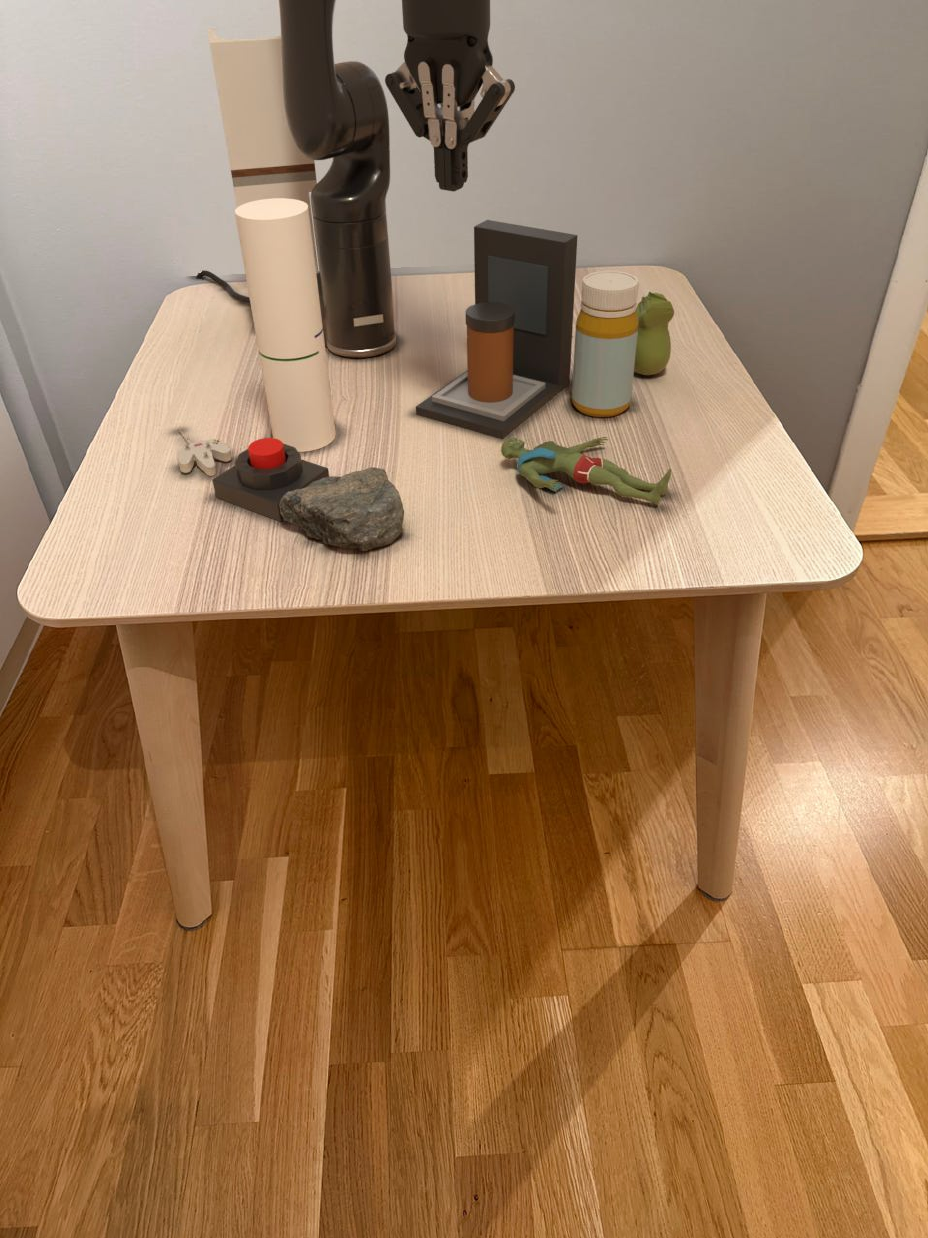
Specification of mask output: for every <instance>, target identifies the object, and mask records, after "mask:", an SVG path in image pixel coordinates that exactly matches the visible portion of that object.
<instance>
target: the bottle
mask: <svg viewBox="0 0 928 1238" xmlns="http://www.w3.org/2000/svg"><path fill="white" fill-rule="evenodd" d="M639 285H640V282H639V279H638V277H636V276H635V275H634V274H631V273H628V272H625V271H619V270H599V271H594V272H591V273H588V274H586V275H585V276H584V277H583V278H582V281H581V300H580V311H579V313H578V316H577V318H576V323H575V331H574V332H575V334H574V335H575V336H574V350H573V351H574V352H573V367H572V368H573V369H572V384H571V385H572V386H571V402H572V405H573V406H574V407H575V408H576V409H577V410H578V411H579V412H580V413H581V414H584V415H586V416H591V417H595V418H612V417H615V416H618V415H620V414H622V413H623V412H625V411H626V410H627V409H628V408H629V407H630V406H631V400H632V394H633V384H634V383H633V382H634V374H635V371H634V365H635V355H636V345H637V335H638V318H637V314H636V308H637V305H638V303H637V301H638V297H639V296H638V295H639Z"/></svg>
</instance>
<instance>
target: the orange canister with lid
mask: <svg viewBox="0 0 928 1238" xmlns="http://www.w3.org/2000/svg"><path fill="white" fill-rule="evenodd" d="M514 323H515V310H514V309H513V308H512V307H511V306H509V305H507V304H503V303H497V302H484V303H478V304H475V303H474V304H472V305H470V306H468V307H467V308H466V309H465V325H466V351H467V352H466V357H467V360H466V362H467V370H468V394H469V396H470V397H471V398H473V399H474V400H477V401H481V402H499V401H503V400H506V399H508V398H509V397H510V396H511V395H512V393H513V340H514Z"/></svg>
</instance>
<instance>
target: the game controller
mask: <svg viewBox="0 0 928 1238" xmlns="http://www.w3.org/2000/svg"><path fill="white" fill-rule="evenodd" d="M177 432H178V433H181V435H182V436H183V438H184V440H186V441H190V443H188V442H186V443H185V444H184V445H183V446H182V447H180V448H179V449H178V450H177V451H176V459H177V463H178V467H179V469H180V472H182V473H185V474H187V473H190V472H191V471H192V470H193V467H194V465H195V462H196V465H197V467H198V468H199V469H200V470H201V471H202V472H203V473H205V475H207V476H208V477H213V476H215V475H216V474H217V469H216V462H215V459H216V460H218V461H222V462H229V461H232V453H231V448H230V446H229V445H228V444H226V442H225V441H223V440H221V439H218V438H209V439H204V440H199V441H194V442H193V440H192V439H191V438H190V437H186V436H185V435H184V432H183V431H182V429H181V428H177Z"/></svg>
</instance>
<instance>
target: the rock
mask: <svg viewBox="0 0 928 1238" xmlns="http://www.w3.org/2000/svg"><path fill="white" fill-rule="evenodd" d="M386 471H387V470H386V469H385V468H378V467H375V466H371V467H367V468H365V469H362V470H357V471H352V472H349V473H347V474H344V475H342V476H329V477H324V478H322V479H320V480H317V481H314V482H312V483H311V484H310V485H308V486H307V487H306V488H302V489H295V490H293V491H290V492H287V493H286V494H285V495H284V496H283V497H282V499H281V501H280V504H279V506H280V512H281V515H282V516H283V518H284V520H283V521H286V522H288V523H290V524H293V525H295V526H299V527H300V528H301V529H302V530H303V531H304V532H305V535H306V536H307V537H309V538H313V539H316V540H321V541H322V542H323V543H324V544H325V545H330V546H334V547H338V548H347V549H359V551H363V552H366V551H369V550H372V549H375V548H381V547H384V546H387V545H390V544H392V543H393V542H394V541H395V540H396V539H397V538H398V537H399V536H400V535H401V534H402V532H403V524H404V523H403V522H404V520H405V519H404V518H405V509H404V505H403V500H402V497H401V495H400V492H399V490H398V489H397V487H396V486H395V484H393V482H391V481H390V480H389V477H388V474H387V472H386Z"/></svg>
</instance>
